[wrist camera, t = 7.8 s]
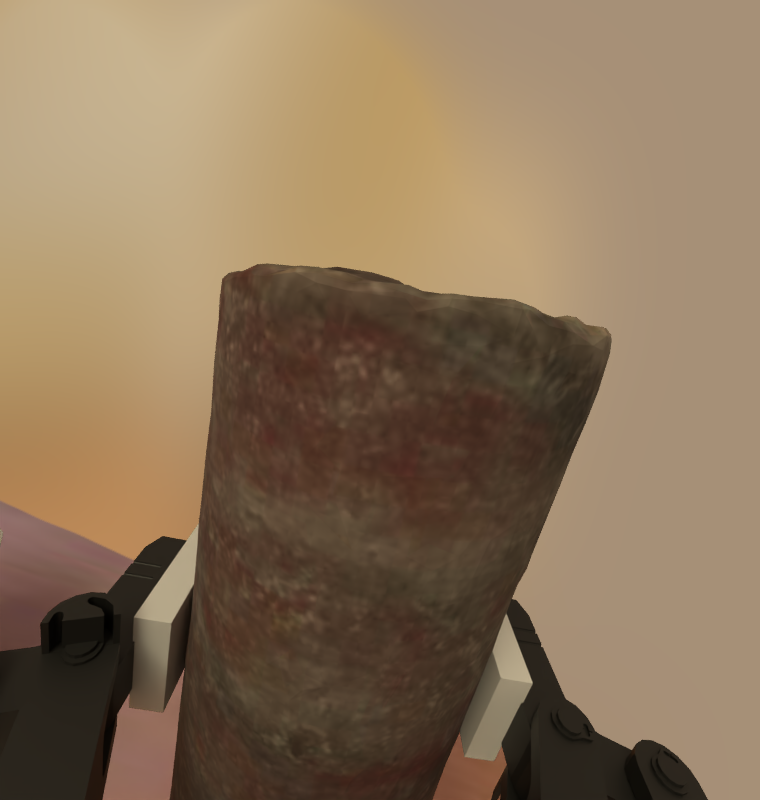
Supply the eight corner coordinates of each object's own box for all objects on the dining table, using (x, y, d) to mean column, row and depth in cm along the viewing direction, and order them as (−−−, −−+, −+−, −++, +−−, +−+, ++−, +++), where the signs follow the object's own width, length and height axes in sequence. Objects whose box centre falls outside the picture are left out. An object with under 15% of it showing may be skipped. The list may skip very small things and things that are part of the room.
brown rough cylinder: (94, 1095, 9) (149, 204, 4) (191, 745, 16) (265, 242, 10) (397, 1051, 11) (780, 369, 5) (369, 747, 18) (520, 308, 12)
